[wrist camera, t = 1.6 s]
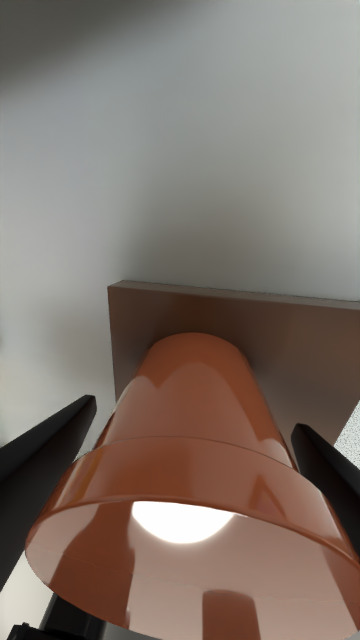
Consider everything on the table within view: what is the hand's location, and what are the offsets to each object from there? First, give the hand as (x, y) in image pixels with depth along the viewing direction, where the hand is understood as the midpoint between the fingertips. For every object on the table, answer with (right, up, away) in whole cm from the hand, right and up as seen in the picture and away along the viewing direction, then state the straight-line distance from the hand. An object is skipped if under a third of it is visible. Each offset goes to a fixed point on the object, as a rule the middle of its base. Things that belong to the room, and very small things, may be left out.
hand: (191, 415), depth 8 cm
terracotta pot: (0, +1, +2) cm, 2 cm away
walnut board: (+2, -4, +5) cm, 7 cm away
